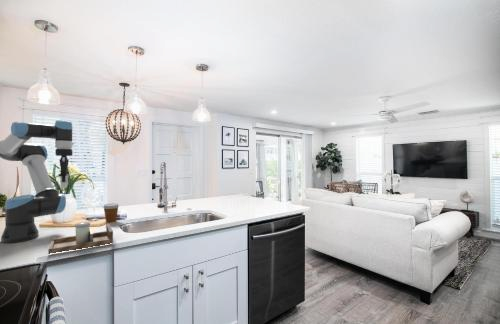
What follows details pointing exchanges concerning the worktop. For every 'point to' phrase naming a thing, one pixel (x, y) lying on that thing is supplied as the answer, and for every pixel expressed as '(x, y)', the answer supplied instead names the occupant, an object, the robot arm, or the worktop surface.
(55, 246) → the brown wooden tray
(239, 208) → the worktop surface
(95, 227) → the worktop surface
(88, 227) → the jar
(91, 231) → the pusher
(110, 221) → the disposable coffee cup
